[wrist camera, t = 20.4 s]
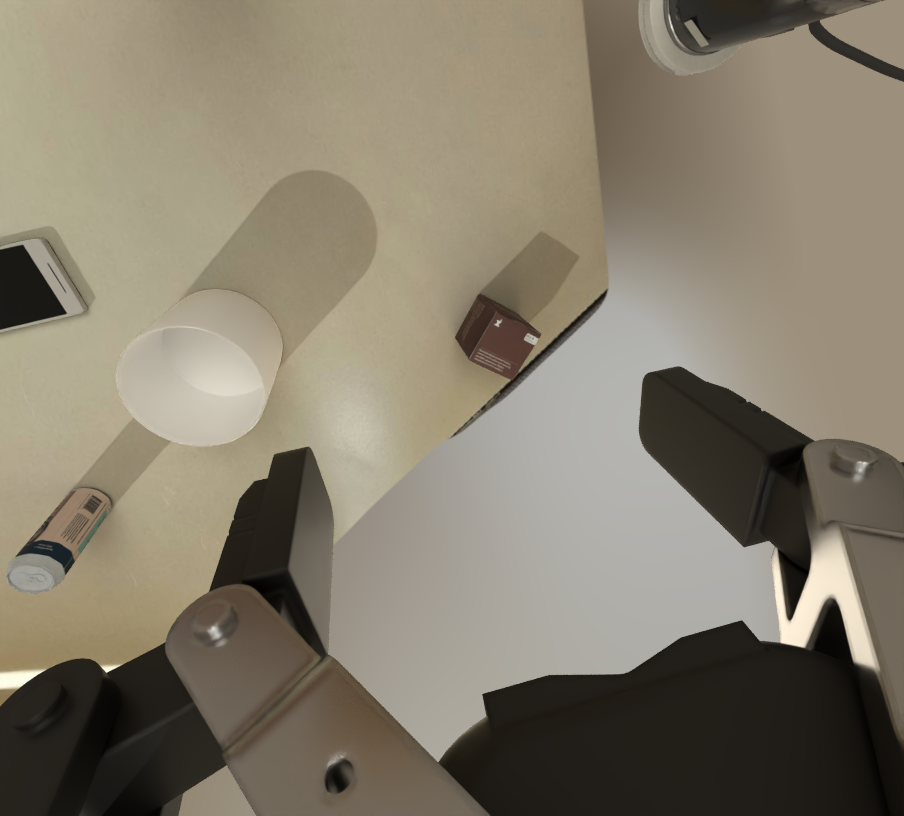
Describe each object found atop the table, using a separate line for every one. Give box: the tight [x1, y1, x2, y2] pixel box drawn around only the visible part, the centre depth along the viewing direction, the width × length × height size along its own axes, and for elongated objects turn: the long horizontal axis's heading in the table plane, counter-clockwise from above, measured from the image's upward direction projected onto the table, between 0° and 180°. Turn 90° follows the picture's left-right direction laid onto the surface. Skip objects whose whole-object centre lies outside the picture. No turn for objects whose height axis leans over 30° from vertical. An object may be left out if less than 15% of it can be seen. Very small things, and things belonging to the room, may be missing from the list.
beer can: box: [6, 488, 111, 594], centre depth 50 cm, size 5×5×12 cm
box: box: [455, 294, 541, 380], centre depth 51 cm, size 6×6×7 cm
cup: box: [116, 289, 283, 447], centre depth 44 cm, size 12×12×12 cm
